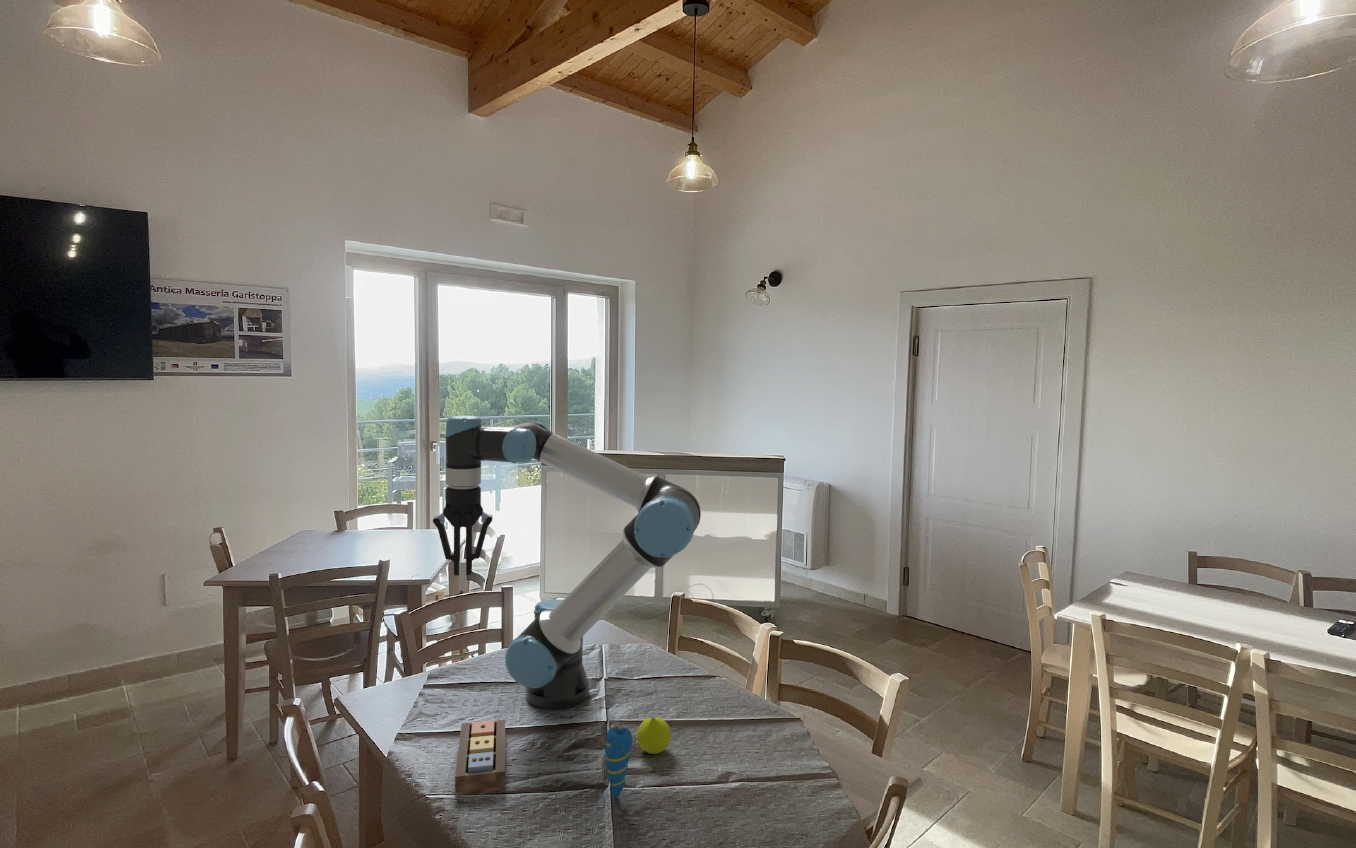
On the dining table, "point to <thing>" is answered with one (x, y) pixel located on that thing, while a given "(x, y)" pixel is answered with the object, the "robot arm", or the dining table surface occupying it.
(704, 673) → the dining table surface
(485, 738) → the tile two
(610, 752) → the ornament
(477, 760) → the tile three
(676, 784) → the dining table surface
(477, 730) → the tile one
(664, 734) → the yellow pointed oval
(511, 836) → the dining table surface
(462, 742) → the key strip
